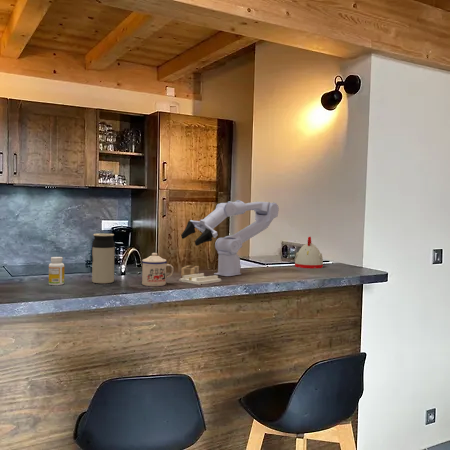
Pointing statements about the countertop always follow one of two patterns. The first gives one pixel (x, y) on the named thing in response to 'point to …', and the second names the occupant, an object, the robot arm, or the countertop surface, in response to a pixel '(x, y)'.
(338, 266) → the countertop surface
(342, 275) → the countertop surface
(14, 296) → the countertop surface
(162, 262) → the teacup with lid
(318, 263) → the kitchen timer
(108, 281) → the travel mug
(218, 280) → the cream flat piece
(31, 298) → the countertop surface
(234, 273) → the robot arm
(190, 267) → the frame
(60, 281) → the supplement bottle
